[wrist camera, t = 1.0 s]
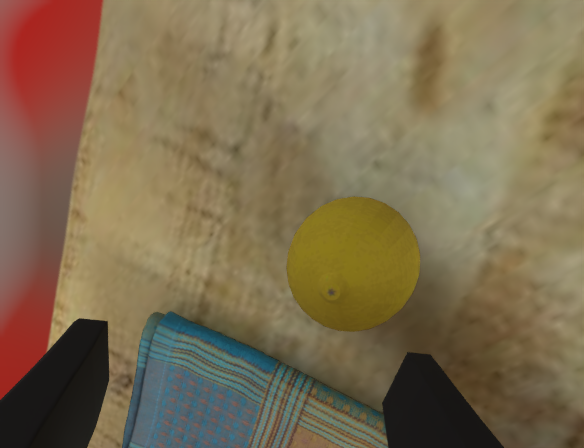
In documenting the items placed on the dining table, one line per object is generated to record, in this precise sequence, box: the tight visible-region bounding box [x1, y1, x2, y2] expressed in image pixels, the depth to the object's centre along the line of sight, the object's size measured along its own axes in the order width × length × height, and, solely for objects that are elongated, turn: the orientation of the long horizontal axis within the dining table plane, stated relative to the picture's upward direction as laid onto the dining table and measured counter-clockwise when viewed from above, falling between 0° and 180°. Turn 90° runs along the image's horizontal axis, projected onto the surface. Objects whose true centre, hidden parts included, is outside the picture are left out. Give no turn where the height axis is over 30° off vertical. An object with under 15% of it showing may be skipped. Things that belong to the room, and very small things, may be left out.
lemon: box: [287, 197, 420, 332], centre depth 19 cm, size 6×6×8 cm
